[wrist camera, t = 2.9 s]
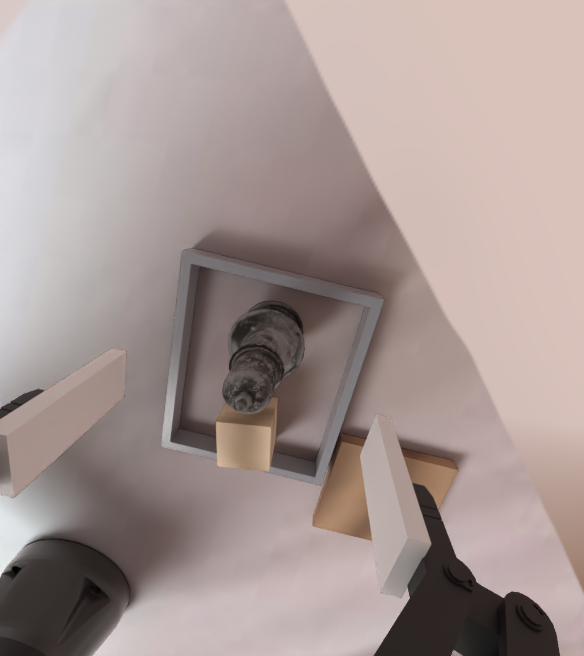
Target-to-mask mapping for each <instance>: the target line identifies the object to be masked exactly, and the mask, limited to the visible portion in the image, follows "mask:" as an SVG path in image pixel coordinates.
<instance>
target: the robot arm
mask: <svg viewBox="0 0 584 656" xmlns="http://www.w3.org/2000/svg"><path fill="white" fill-rule="evenodd" d="M126 354H127V351H123V350H119V349H115V348H111V349H109V350H108V351H106V352H105V353H103V354H102V355H100V356H99V357H97V358H95V359H94V360H92V361H91V362H89V363H88V364H86V365H84V366H83V367H81V368H80V369H78V370H77V371H75V372H73V373H72V374H70V375H69V376H67V377H66V378H64V379H62V380H61V381H59V382H58V383H56V384H55V385H53V386H52V387H50V388H48V389H47V390H41V389H37V390H34V391H31V392H28V393H26V394H23V395H21V396H20V397H18V398H16V399H15V400H13V401H11V403H8V404H6V405H5V406H3V407H1V409H0V495H2V496H6V497H10V498H15V497H16V496H17V495H18V494H19V493H20V492H21V491H22V490H23V489H24V488H26V487H27V486H28V485H29V484H30V483H31V482H32V481H33V480H34V479H35V478H36V477H37V476H39V475H40V474H41V473H42V472H43V471H44V470H45V469H46V468H47V467H48V466H49V465H50V464H52V463H53V462H54V461H55V460H56V459H57V458H58V457H59V456H60V455H61V454H62V453H64V452H65V451H66V450H67V449H68V448H69V447H70V446H71V445H72V444H73V443H74V442H75V441H77V440H78V439H79V438H80V437H81V436H82V435H83V434H84V433H85V432H86V431H87V430H88V429H90V428H91V427H92V426H93V425H94V424H95V423H96V422H97V421H98V420H99V419H100V418H102V417H103V416H104V415H105V414H106V413H107V412H108V411H109V410H110V409H111V408H112V407H113V406H115V405H116V404H117V403H118V402H119V401H120V400H121V399H122V398H123V397H124V396H125V376H126ZM360 459H361V466H362V473H363V480H364V487H365V494H366V500H367V507H368V514H369V521H370V528H371V535H372V542H373V549H374V556H375V563H376V569H377V576H378V583H379V590H380V593H383V594H387V595H391V596H395V597H399V598H402V596H403V595H404V593H405V591H406V589H407V587H408V591H409V596H410V599H409V601H408V602H407V604H406V606H405V607H404V609H403V610H402V612H401V613H400V615H399V617H398V618H397V620H396V621H395V623H394V625H393V626H392V628H391V629H390V631H389V632H388V634H387V636H386V637H385V639H384V640H383V642H382V643H381V645H380V647H379V648H378V650H377V651H376V653H375V655H374V656H451V654H452V651H453V649H454V650H455V651H457V652H458V653H460V654H461V655H463V656H560V653H559V647H558V641H557V635H556V632H555V629H554V626H553V624H552V622H551V620H550V619H549V617H548V616H547V614H546V613H545V612H544V611H543V610H542V609H541V608H540V606H539V605H538V604H537V603H535V602H534V601H533V600H531V599H530V598H529V597H527V596H525V595H523V594H521V593H519V592H510V593H508V594H507V595H506V596H505V597H504V598H502V597H501V596H499V595H497V594H495V593H493V592H492V591H490V590H488V589H486V588H485V587H483V586H481V585H480V584H478V583H477V582H476V579H475V577H474V576H473V574H472V572H471V571H470V569H469V568H468V567H467V566H466V565H465V564H464V563H463V562H462V561H460V560H459V559H457V558H456V555H455V553H454V550H453V547H452V545H451V542H450V539H449V537H448V534H447V532H446V529H445V526H444V524H443V521H441V519H442V518H441V516H440V513H439V511H438V508H437V505H436V503H435V500H434V497H433V496H432V495H431V493H430V492H429V491H428V489H427V488H426V487H425V486H423V485H419V484H415V483H412V482H411V479H410V476H409V473H408V470H407V466H406V463H405V460H404V457H403V454H402V451H401V448H400V445H399V442H398V438H397V435H396V432H395V429H394V426H393V423H392V420H391V417H387V416H383V415H379V414H376V415H375V418H374V421H373V423H372V426H371V428H370V431H369V434H368V436H367V439H366V441H365V444H364V447H363V449H362V452H361V454H360ZM129 599H130V591H129V586H128V583H127V581H126V579H125V577H124V576H123V574H122V573H121V572H120V570H119V569H118V568H117V567H116V566H115V565H114V564H113V563H112V562H111V561H110V560H108V559H107V558H106V557H104V556H103V555H101V554H99V553H98V552H96V551H94V550H92V549H90V548H88V547H86V546H83V545H80V544H77V543H74V542H69V541H64V540H41V541H37V542H34V543H31V544H29V545H27V546H26V547H24V548H23V549H22V550H21V551H20V552H19V553H18V554H17V556H16V557H15V558H14V559H13V560H12V561H11V562H10V563H9V565H8V566H7V567H6V568H5V570H4V571H3V573H2V575H1V576H0V656H93V654H94V653H95V652H96V651H97V649H98V648H99V647H100V646H101V645H102V643H103V642H104V641H105V640H106V639H107V637H108V636H109V635H110V634H111V632H112V631H113V630H114V629H115V627H116V626H117V624H118V623H119V621H120V619H121V617H122V615H123V613H124V611H125V609H126V607H127V605H128V602H129Z"/></svg>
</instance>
